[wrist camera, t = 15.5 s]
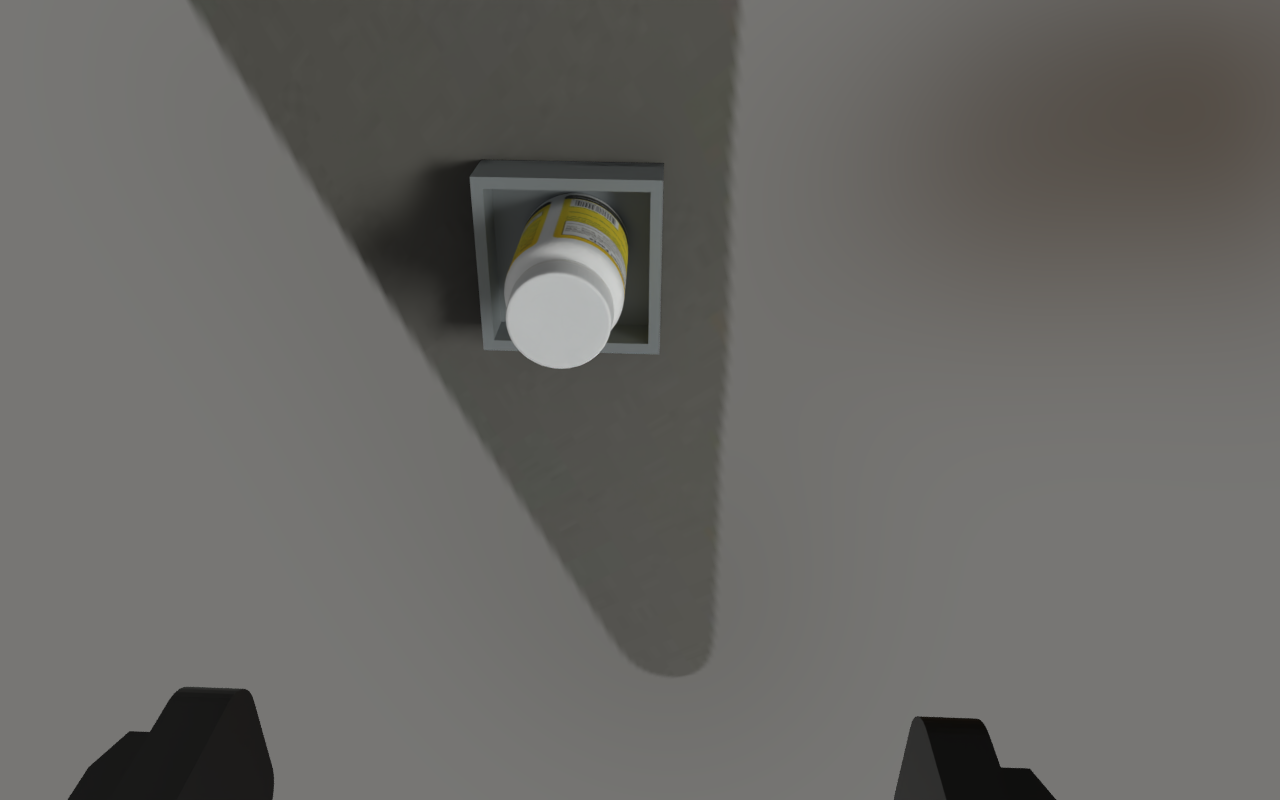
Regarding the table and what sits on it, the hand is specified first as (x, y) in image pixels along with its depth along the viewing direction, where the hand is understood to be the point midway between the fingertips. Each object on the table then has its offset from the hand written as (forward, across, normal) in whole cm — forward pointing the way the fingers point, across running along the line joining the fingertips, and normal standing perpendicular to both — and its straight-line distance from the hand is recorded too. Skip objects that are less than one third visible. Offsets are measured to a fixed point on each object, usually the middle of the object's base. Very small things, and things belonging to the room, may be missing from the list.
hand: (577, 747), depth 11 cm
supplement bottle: (+32, +3, +6) cm, 33 cm away
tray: (+32, +3, +6) cm, 33 cm away
